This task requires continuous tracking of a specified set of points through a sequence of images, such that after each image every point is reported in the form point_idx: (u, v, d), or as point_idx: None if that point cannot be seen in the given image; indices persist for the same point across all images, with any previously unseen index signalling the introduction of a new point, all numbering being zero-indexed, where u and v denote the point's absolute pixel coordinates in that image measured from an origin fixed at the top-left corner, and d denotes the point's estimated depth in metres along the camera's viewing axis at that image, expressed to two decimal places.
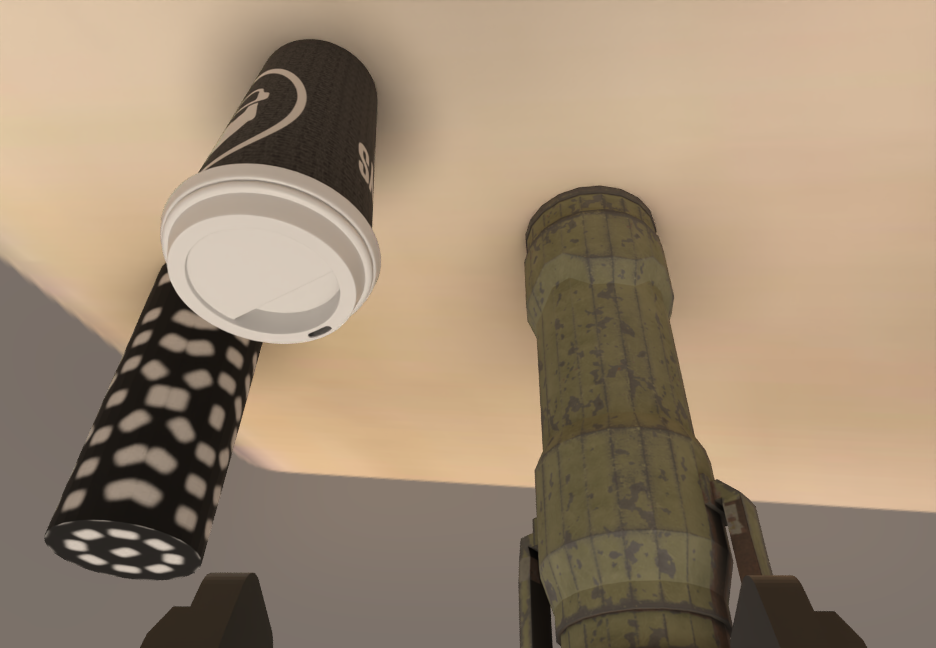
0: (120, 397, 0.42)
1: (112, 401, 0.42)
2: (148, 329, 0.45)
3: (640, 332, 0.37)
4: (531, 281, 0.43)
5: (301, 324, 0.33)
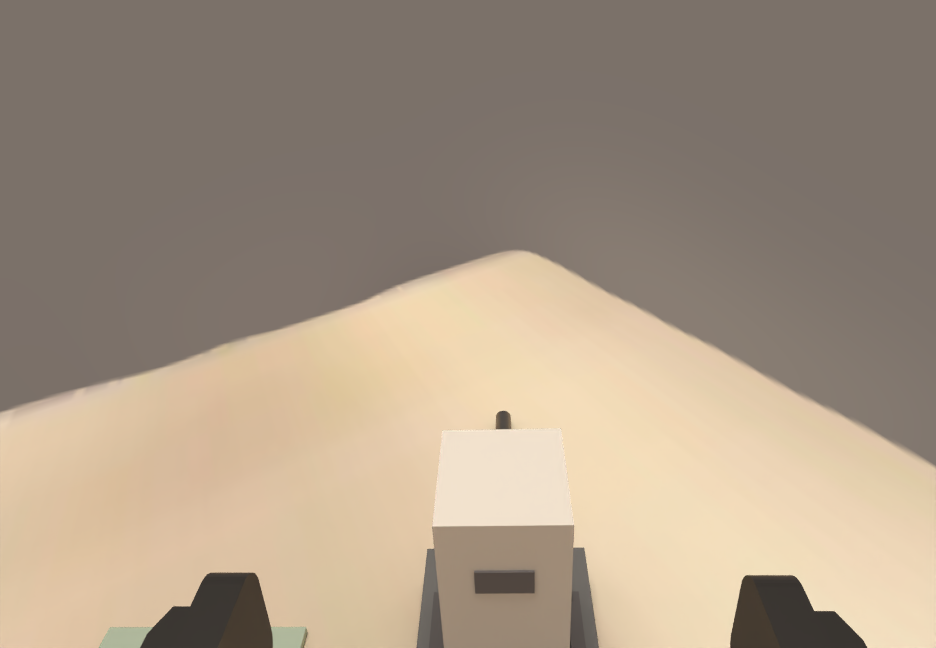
0: None
1: None
2: None
3: None
4: None
5: None
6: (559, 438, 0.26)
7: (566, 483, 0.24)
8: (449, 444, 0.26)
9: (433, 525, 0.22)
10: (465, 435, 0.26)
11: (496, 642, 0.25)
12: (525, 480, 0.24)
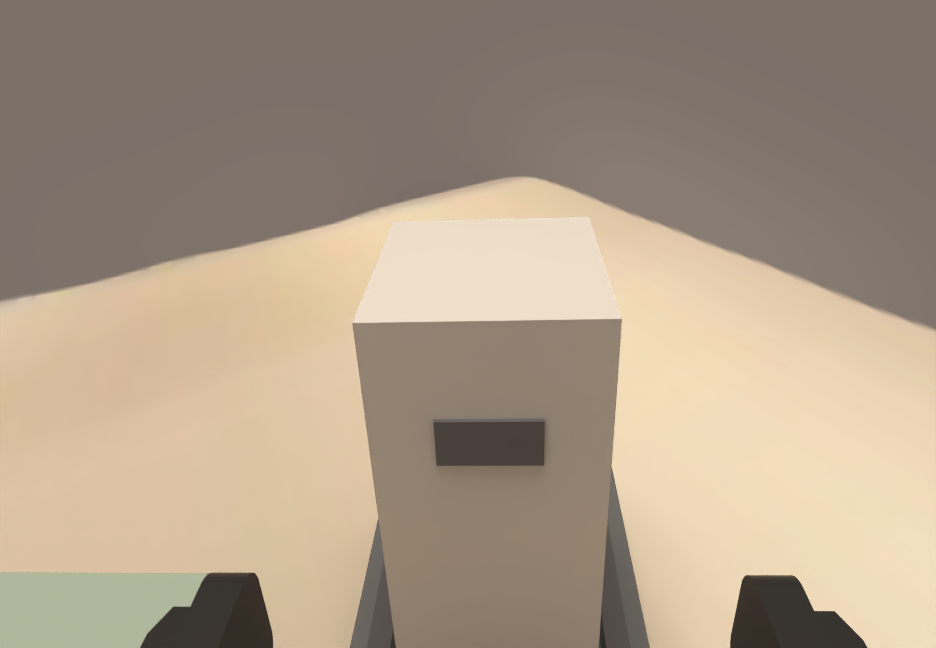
0: None
1: None
2: None
3: None
4: None
5: None
6: (587, 226, 0.15)
7: (603, 271, 0.13)
8: (401, 234, 0.15)
9: (354, 321, 0.12)
10: (430, 225, 0.16)
11: (476, 563, 0.14)
12: (529, 268, 0.14)
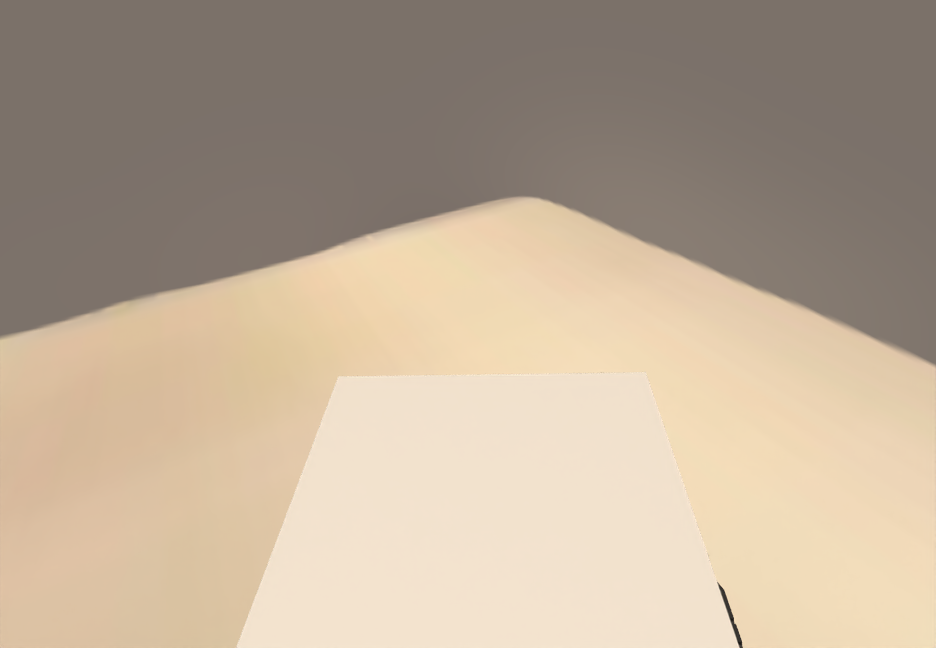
0: None
1: None
2: None
3: None
4: None
5: None
6: (645, 397, 0.10)
7: (692, 526, 0.07)
8: (347, 409, 0.10)
9: None
10: (395, 389, 0.10)
11: None
12: (558, 513, 0.08)
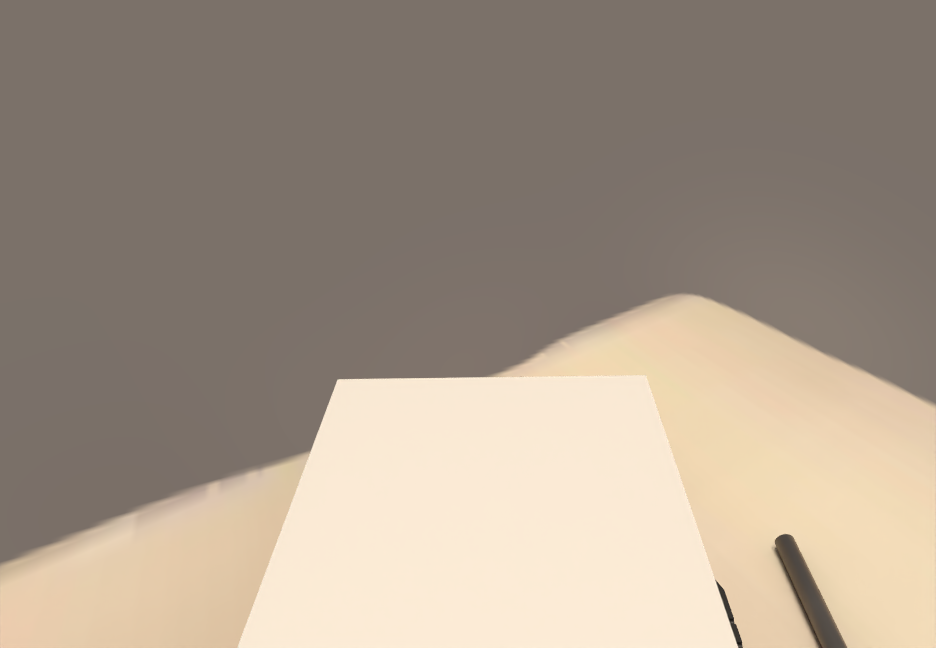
0: None
1: None
2: None
3: None
4: None
5: None
6: (646, 400, 0.10)
7: (692, 531, 0.07)
8: (346, 412, 0.10)
9: None
10: (395, 392, 0.10)
11: None
12: (558, 517, 0.08)
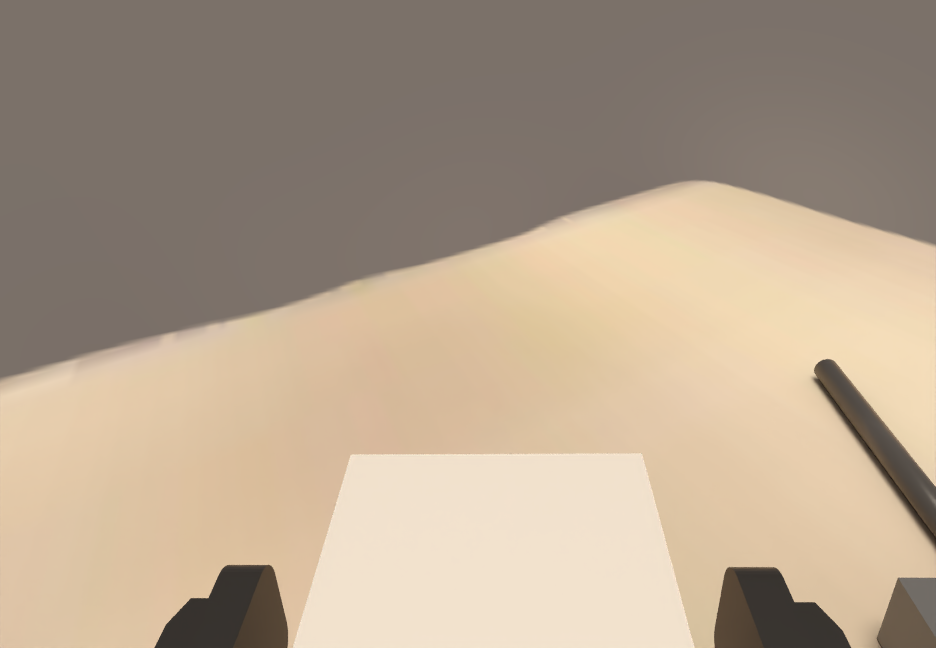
0: None
1: None
2: None
3: None
4: None
5: None
6: (641, 481, 0.10)
7: (682, 623, 0.08)
8: (360, 491, 0.10)
9: None
10: (405, 470, 0.11)
11: None
12: (557, 608, 0.08)
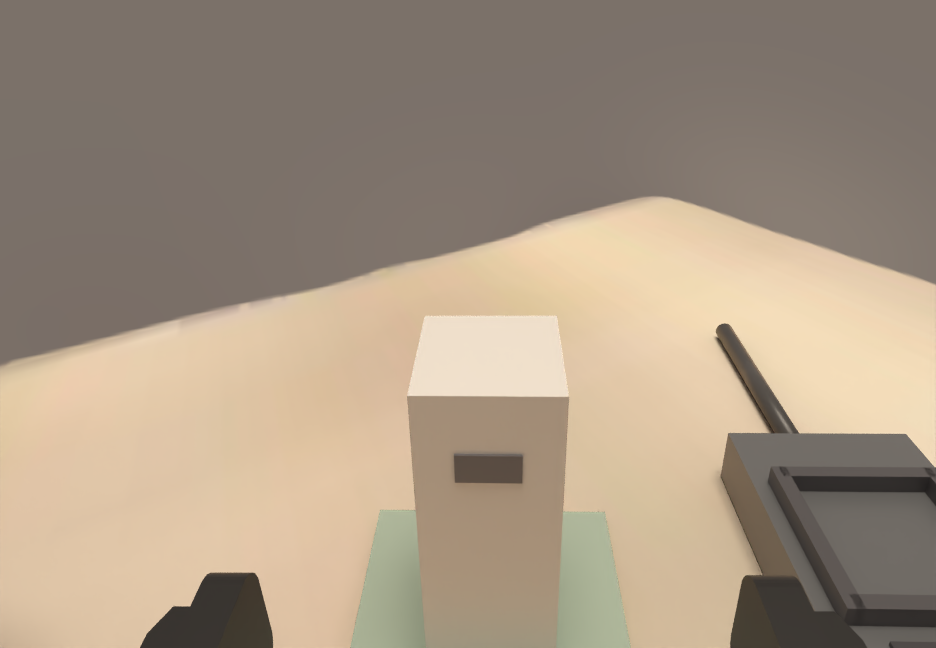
0: None
1: None
2: None
3: None
4: None
5: None
6: (554, 324, 0.23)
7: (561, 361, 0.21)
8: (431, 327, 0.23)
9: (408, 395, 0.20)
10: (450, 320, 0.24)
11: (478, 546, 0.22)
12: (514, 358, 0.21)
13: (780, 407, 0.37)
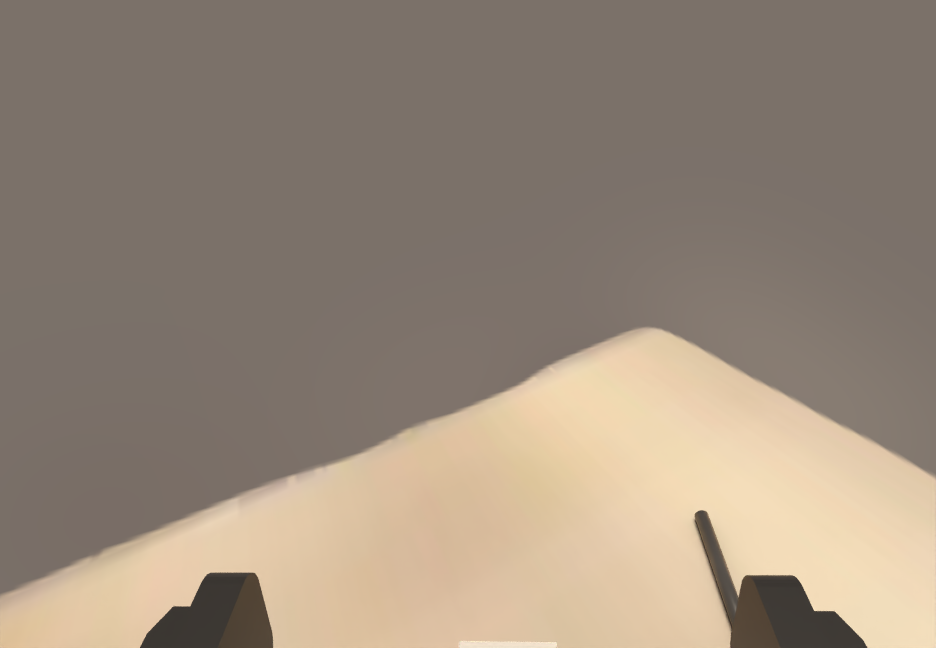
0: None
1: None
2: None
3: None
4: None
5: None
6: None
7: None
8: None
9: None
10: None
11: None
12: None
13: None
